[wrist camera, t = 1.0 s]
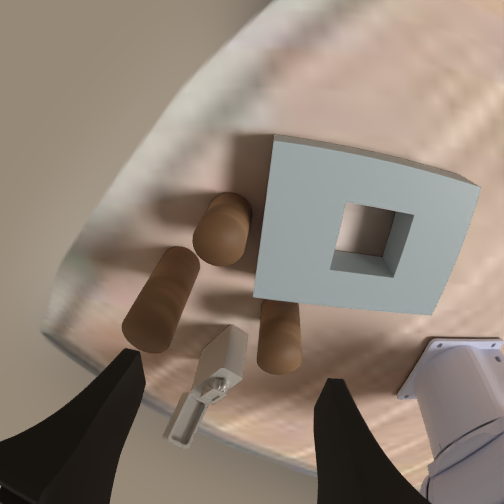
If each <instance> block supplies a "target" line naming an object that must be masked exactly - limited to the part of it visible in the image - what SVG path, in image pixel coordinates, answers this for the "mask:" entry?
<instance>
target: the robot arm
mask: <svg viewBox="0 0 504 504" xmlns="http://www.w3.org/2000/svg"><path fill="white" fill-rule="evenodd" d="M502 345H503V340H502V339H441V338H435V339H432V340H431V341H430V342H429V344H428V346H427V347H426V349H425V351H424V352H423V354H422V356H421V358H420V359H419V361H418V362H417V364H416V366H415V367H414V369H413V371H412V372H411V374H410V375H409V377H408V378H407V380H406V382H405V383H404V385H403V386H402V388H401V389H400V391H399V392H398V394H397V399H400V400H402V399H417V401H418V404H419V407H420V410H421V414H422V417H423V421H424V424H425V428H426V431H427V435H428V438H429V442H430V446H431V450H432V454H433V458H434V461H433V462H432V463H430V464H429V465H428V471H429V475H428V476H427V477H426V478H425V479H424V481H423V483H422V485H421V489H420V493H419V492H418V491H417V490H416V489H415V488H414V487H413V486H412V485H411V484H410V483H409V482H408V481H407V480H406V479H405V478H404V477H403V476H402V475H401V473H400V472H399V471H398V470H397V469H396V467H395V466H394V465H393V464H392V462H391V461H390V460H389V458H388V457H387V456H386V454H385V453H384V452H383V450H382V449H381V447H380V446H379V444H378V443H377V441H376V439H375V438H374V436H373V435H372V433H371V431H370V430H369V428H368V426H367V424H366V423H365V421H364V419H363V417H362V415H361V414H360V412H359V410H358V408H357V406H356V404H355V402H354V400H353V398H352V396H351V394H350V392H349V390H348V387H347V385H346V383H345V381H344V380H343V379H332V378H328V379H327V381H326V383H325V386H324V388H323V390H322V392H321V394H320V396H319V398H318V400H317V402H316V405H315V407H314V441H315V451H316V462H317V473H318V499H317V504H504V356H503V354H502V352H501V351H500V348H501V347H502ZM145 385H146V381H145V376H144V371H143V366H142V360H141V355H140V351H136V350H132V349H128V348H125V349H123V350H122V352H121V353H120V354H119V355H118V356H117V357H116V358H115V359H114V360H113V361H112V362H111V363H110V364H109V365H108V366H107V367H106V368H105V370H104V371H103V372H102V373H101V374H100V375H99V376H98V377H96V378H95V379H94V380H93V381H92V382H91V383H90V384H89V385H88V387H86V388H85V389H84V390H83V391H82V392H80V393H79V394H78V395H77V396H76V397H75V398H74V399H73V400H71V401H70V402H69V403H67V404H66V405H65V406H64V407H62V408H61V409H60V410H58V411H57V412H55V413H54V414H52V415H51V416H49V417H48V418H46V419H45V420H43V421H42V422H40V423H38V424H37V425H35V426H33V427H31V428H29V429H28V430H26V431H24V432H22V433H20V434H18V435H16V436H14V437H11V438H8V439H6V440H3V441H1V442H0V485H1V488H0V504H109V503H110V497H111V491H112V487H113V482H114V477H115V473H116V469H117V465H118V461H119V457H120V454H121V451H122V448H123V446H124V443H125V441H126V438H127V436H128V433H129V431H130V428H131V426H132V423H133V421H134V419H135V416H136V414H137V411H138V408H139V406H140V403H141V400H142V396H143V392H144V388H145Z"/></svg>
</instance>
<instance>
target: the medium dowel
mask: <svg viewBox="0 0 504 504" xmlns="http://www.w3.org/2000/svg"><path fill="white" fill-rule="evenodd" d="M301 362H302V351H301V333H300V317H299V304H298V303H295V302H287V301H279V300H271V299H265V300H264V301H263V303H262V308H261V319H260V330H259V341H258V352H257V363H258V365H259V367H260V368H261V369H262V370H264V371H265V372H268V373H271V374H276V375H283V374H288V373H291V372H293V371H295V370H296V369H297V368H299V366H300V365H301Z"/></svg>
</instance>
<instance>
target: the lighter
mask: <svg viewBox="0 0 504 504" xmlns="http://www.w3.org/2000/svg"><path fill="white" fill-rule="evenodd" d="M247 342H248V334H247V333H245V332H243V331H242V330H240V329H239V328H237V327H236V326H234V325H229V326H228V327H227V328H226V329H225V330H224V331H223V332H221V333H220V334H219V335H218V336H217V337H216V338H215V339H214V340H213V341H212V342H210V343H209V344H208V345H207V346H206V347H205V348H204V349H203V350H202V353H201V356H200V360H199V363H198V367H197V371H196V374H195V378H194V382H193V386H192V389H191V392H192V393H183V394H182V396H181V399H180V401H179V403H178V405H177V407H176V409H175V411H174V413H173V415H172V417H171V419H170V421H169V424H168V426H167V428H166V430H165V432H164V434H163V438H164V439H165V440H167V441H169V442H171V443H173V444H175V445H177V446H180V447H182V448H184V449H188V448H189V447H190V445H191V442H192V440H193V438H194V436H195V434H196V432H197V429H198V427H199V425H200V423H201V421H202V418H203V416H204V414H205V412H206V410H207V407H208V405H209V404H211V405H213V404H215V403H216V402H218V401H219V400H221V399H222V398H224V397H226V396H227V391H228V390H229V389H230V388H232V387H233V386H234V385H236V384H237V383H239V382H240V381H242V379H243V372H244V364H245V357H246V349H247Z"/></svg>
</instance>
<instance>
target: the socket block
mask: <svg viewBox="0 0 504 504" xmlns="http://www.w3.org/2000/svg"><path fill="white" fill-rule="evenodd" d="M480 190H481V187H480V186H478V185H476V184H475V183H473V182H471V181H470V180H468V179H466V178H465V177H463V176H461V175H458V174H455V173H452V172H449V171H445V170H442V169H438V168H435V167H431V166H428V165H424V164H421V163H417V162H413V161H409V160H405V159H401V158H397V157H393V156H389V155H385V154H381V153H376V152H372V151H367V150H363V149H358V148H353V147H348V146H343V145H338V144H332V143H327V142H321V141H315V140H309V139H303V138H297V137H290V136H283V135H276V134H274V141H273V149H272V157H271V164H270V172H269V179H268V187H267V195H266V202H265V210H264V217H263V225H262V232H261V240H260V247H259V254H258V262H257V269H256V277H255V285H254V292H253V297H255V298H263V299H271V300H279V301H287V302H295V303H304V304H313V305H321V306H331V307H340V308H350V309H360V310H371V311H382V312H394V313H406V314H419V315H432V314H433V312H434V310H435V308H436V306H437V303H438V301H439V299H440V297H441V295H442V293H443V291H444V288H445V286H446V284H447V282H448V279H449V277H450V275H451V272H452V270H453V267H454V265H455V263H456V260H457V258H458V255H459V252H460V250H461V247H462V245H463V242H464V239H465V236H466V234H467V231H468V228H469V225H470V222H471V219H472V216H473V213H474V210H475V207H476V204H477V200H478V197H479V194H480ZM346 202H348V203H354V204H360V205H365V206H371V207H376V208H382V209H387V210H392V211H396V214H395V217H394V221H393V224H392V228H391V231H390V234H389V238H388V241H387V244H386V247H385V251H384V254H383V257H378V256H371V255H364V254H357V253H350V252H343V251H336V250H335V246H336V242H337V238H338V234H339V230H340V226H341V222H342V217H343V213H344V209H345V204H346Z"/></svg>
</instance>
